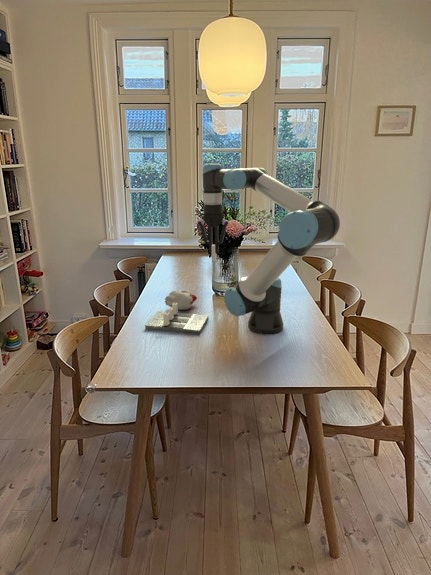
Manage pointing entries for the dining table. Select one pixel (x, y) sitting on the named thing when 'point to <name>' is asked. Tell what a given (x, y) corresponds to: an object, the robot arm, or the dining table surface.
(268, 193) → the robot arm
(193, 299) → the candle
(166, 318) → the breaker near
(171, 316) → the breaker mid
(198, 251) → the dining table surface
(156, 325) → the panel
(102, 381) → the dining table surface
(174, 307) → the breaker far
